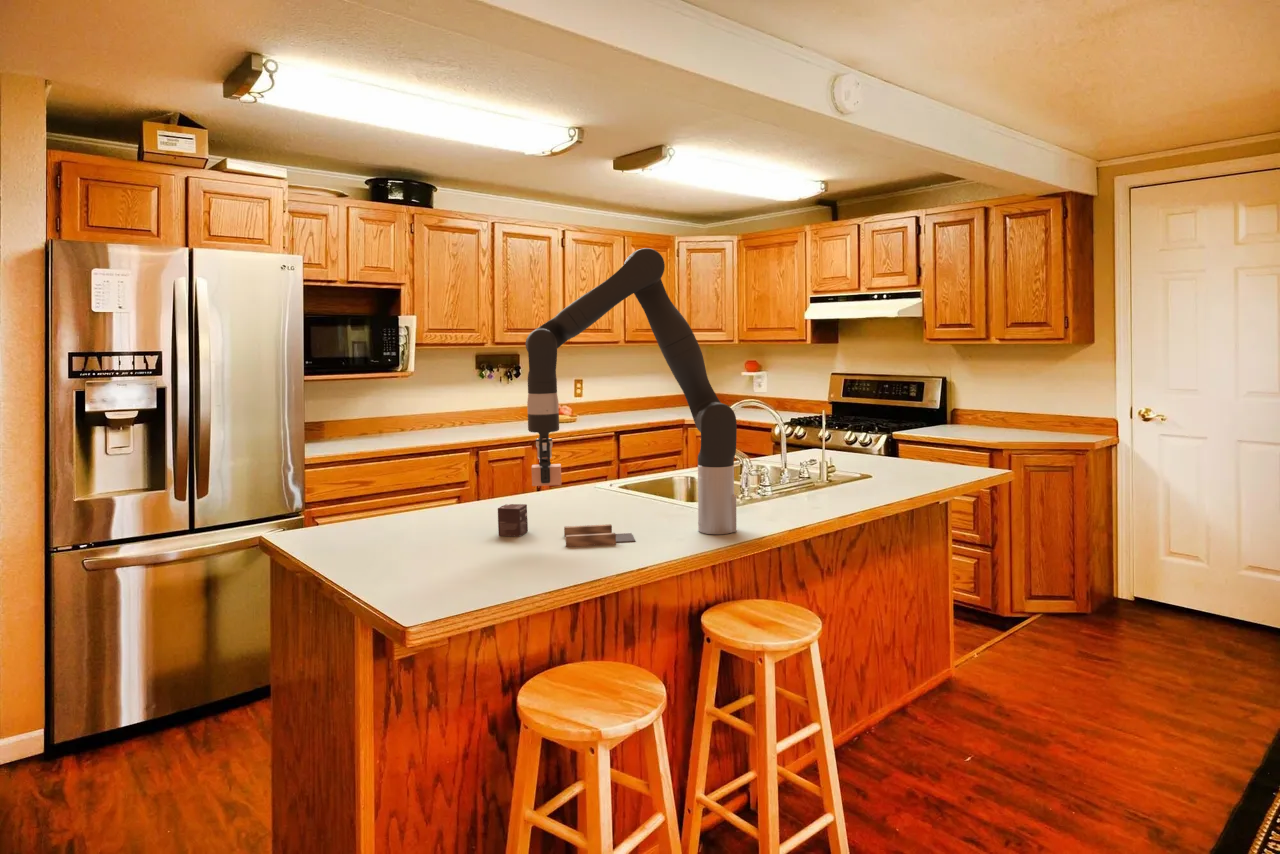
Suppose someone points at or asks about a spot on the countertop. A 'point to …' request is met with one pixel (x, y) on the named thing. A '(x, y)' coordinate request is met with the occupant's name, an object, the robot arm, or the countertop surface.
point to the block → (554, 475)
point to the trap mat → (624, 538)
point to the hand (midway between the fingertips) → (545, 480)
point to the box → (512, 520)
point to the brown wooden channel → (589, 535)
